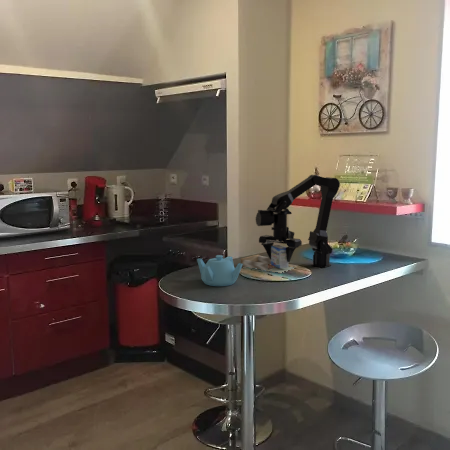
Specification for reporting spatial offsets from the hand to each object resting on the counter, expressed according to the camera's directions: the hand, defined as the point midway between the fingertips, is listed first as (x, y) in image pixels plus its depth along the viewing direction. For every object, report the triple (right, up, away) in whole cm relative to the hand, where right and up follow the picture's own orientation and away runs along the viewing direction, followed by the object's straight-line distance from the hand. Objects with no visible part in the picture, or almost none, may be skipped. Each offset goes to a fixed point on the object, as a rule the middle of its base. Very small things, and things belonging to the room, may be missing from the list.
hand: (279, 260), depth 222 cm
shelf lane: (-7, -3, +6) cm, 10 cm away
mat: (+1, -4, 0) cm, 4 cm away
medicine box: (0, -3, 0) cm, 3 cm away
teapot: (-26, -7, -22) cm, 35 cm away
